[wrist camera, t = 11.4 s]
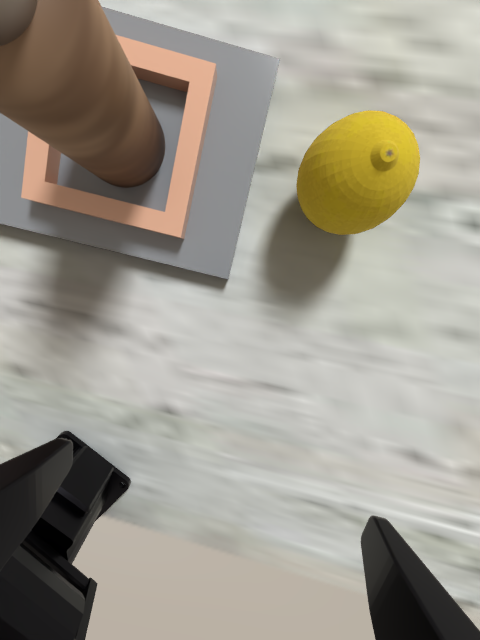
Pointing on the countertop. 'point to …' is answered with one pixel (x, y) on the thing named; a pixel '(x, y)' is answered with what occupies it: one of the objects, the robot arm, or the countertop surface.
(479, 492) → the countertop surface
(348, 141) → the lemon
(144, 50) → the display stand
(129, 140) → the pepper mill
